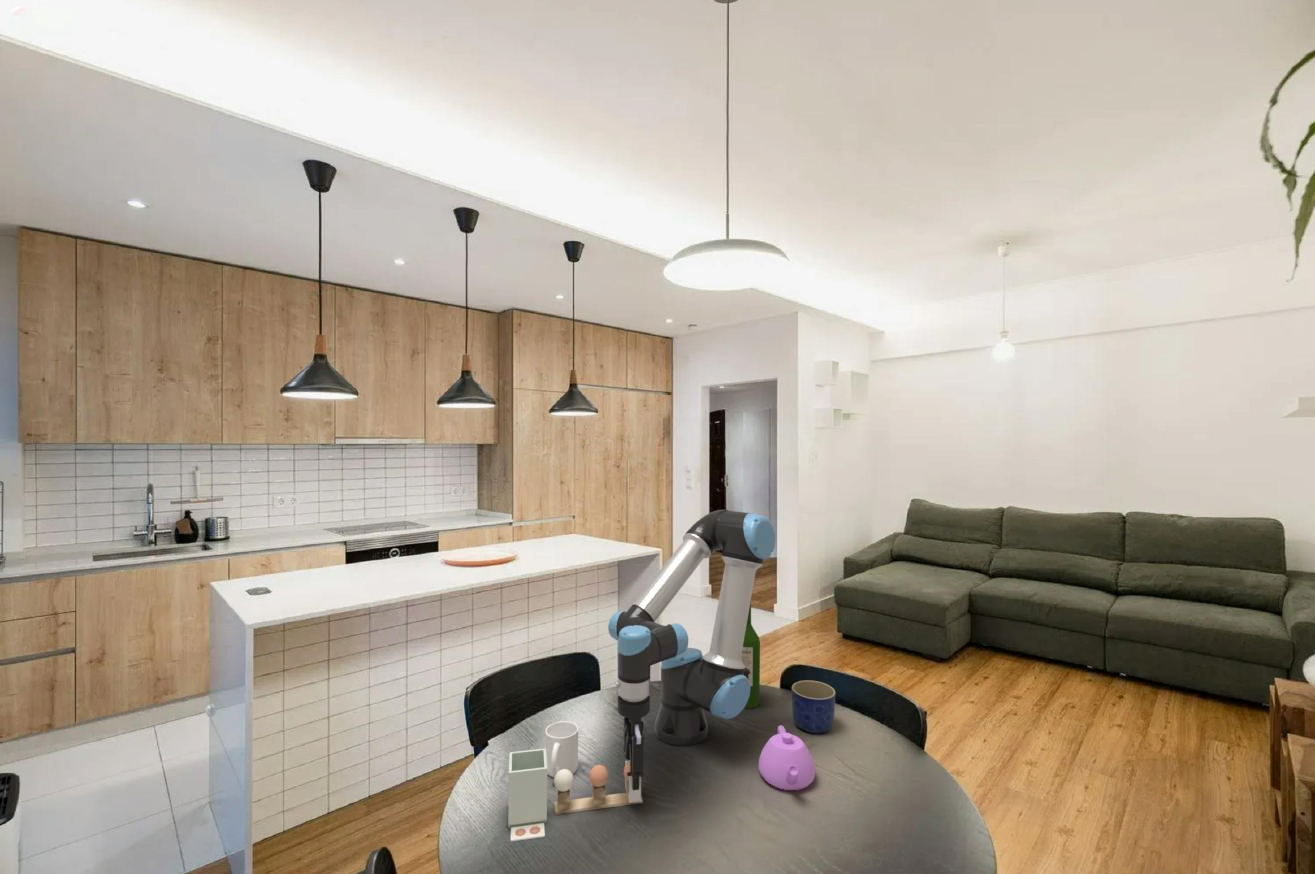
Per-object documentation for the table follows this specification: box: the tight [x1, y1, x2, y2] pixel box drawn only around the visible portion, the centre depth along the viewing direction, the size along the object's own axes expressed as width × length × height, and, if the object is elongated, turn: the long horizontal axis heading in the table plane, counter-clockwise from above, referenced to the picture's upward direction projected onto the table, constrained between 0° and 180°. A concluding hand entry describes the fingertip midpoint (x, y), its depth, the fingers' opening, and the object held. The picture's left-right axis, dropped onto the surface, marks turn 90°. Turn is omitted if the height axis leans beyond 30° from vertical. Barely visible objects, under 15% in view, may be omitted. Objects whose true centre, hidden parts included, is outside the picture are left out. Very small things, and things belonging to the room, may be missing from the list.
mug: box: [544, 720, 579, 778], centre depth 145 cm, size 12×8×10 cm
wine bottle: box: [741, 600, 761, 710], centre depth 185 cm, size 9×9×32 cm
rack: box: [553, 780, 644, 816], centre depth 134 cm, size 20×4×4 cm, turn 103°
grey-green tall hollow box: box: [507, 748, 548, 829], centre depth 130 cm, size 8×8×12 cm
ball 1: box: [553, 769, 574, 791], centre depth 132 cm, size 4×4×4 cm
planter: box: [791, 679, 836, 734], centre depth 170 cm, size 12×12×11 cm
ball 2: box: [588, 764, 609, 787], centre depth 134 cm, size 4×4×4 cm
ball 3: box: [623, 762, 630, 781], centre depth 136 cm, size 4×4×4 cm
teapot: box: [758, 725, 816, 791], centre depth 145 cm, size 14×20×11 cm
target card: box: [510, 823, 546, 842], centre depth 124 cm, size 7×4×1 cm, turn 103°
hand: (632, 794), depth 136 cm, fingers closed on ball 3, 4 cm apart
